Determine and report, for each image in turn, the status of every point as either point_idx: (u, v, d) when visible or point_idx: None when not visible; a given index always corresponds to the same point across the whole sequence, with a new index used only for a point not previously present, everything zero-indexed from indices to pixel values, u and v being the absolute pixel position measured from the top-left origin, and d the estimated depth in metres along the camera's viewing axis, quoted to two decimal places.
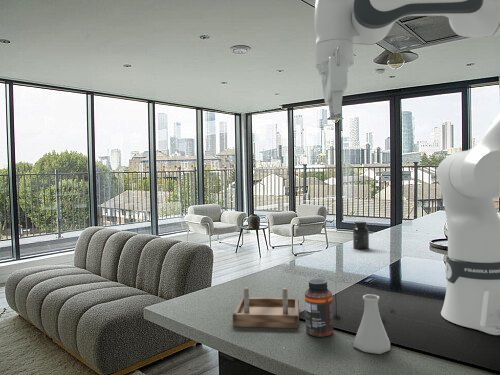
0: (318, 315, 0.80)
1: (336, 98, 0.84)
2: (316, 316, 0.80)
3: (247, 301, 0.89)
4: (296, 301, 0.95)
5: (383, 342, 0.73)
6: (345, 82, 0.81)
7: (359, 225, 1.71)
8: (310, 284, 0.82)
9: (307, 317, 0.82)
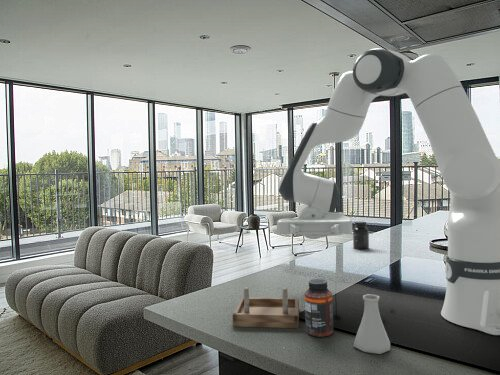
0: (318, 315, 0.80)
1: (290, 229, 1.01)
2: (316, 316, 0.80)
3: (247, 301, 0.89)
4: (296, 301, 0.95)
5: (383, 342, 0.73)
6: (277, 222, 1.04)
7: (359, 225, 1.71)
8: (310, 284, 0.82)
9: (307, 317, 0.82)
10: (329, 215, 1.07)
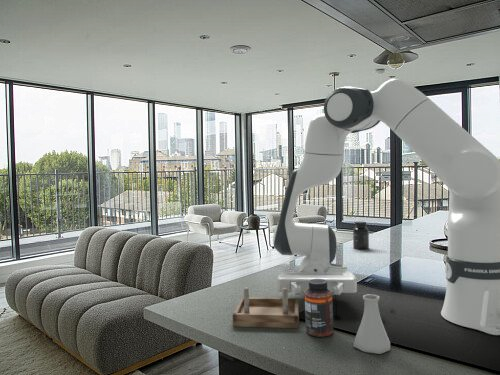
0: (318, 315, 0.80)
1: (291, 288, 0.96)
2: (316, 316, 0.80)
3: (247, 301, 0.89)
4: (296, 301, 0.95)
5: (383, 342, 0.73)
6: (277, 279, 0.99)
7: (359, 225, 1.71)
8: (310, 284, 0.82)
9: (307, 317, 0.82)
10: (332, 270, 1.03)
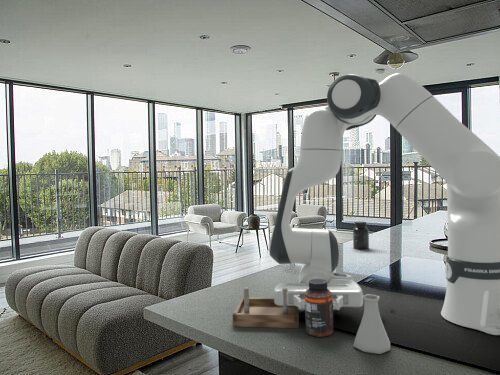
0: (318, 315, 0.80)
1: (294, 302, 0.86)
2: (316, 316, 0.80)
3: (247, 301, 0.89)
4: None
5: (383, 342, 0.73)
6: (274, 291, 0.89)
7: (359, 225, 1.71)
8: (310, 284, 0.82)
9: (307, 317, 0.82)
10: (335, 280, 0.92)
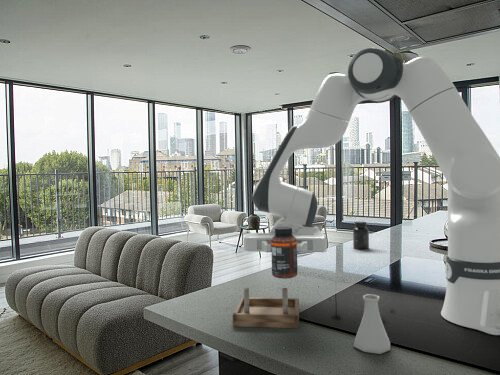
0: (282, 258, 0.85)
1: (262, 247, 0.91)
2: (280, 259, 0.86)
3: (247, 301, 0.89)
4: (296, 301, 0.95)
5: (383, 342, 0.73)
6: (244, 238, 0.94)
7: (359, 225, 1.71)
8: (276, 230, 0.87)
9: (273, 261, 0.87)
10: (302, 230, 0.97)
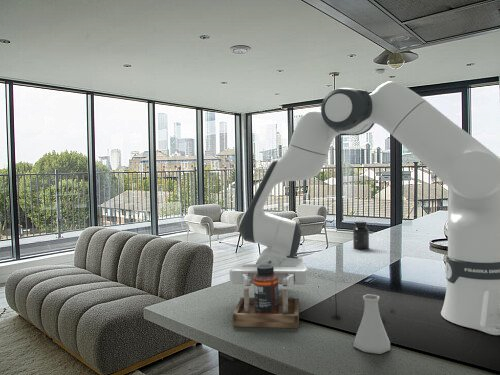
0: (264, 296, 0.90)
1: (243, 280, 0.95)
2: (262, 297, 0.90)
3: (247, 301, 0.89)
4: (296, 301, 0.95)
5: (383, 342, 0.73)
6: (230, 271, 0.98)
7: (359, 225, 1.71)
8: (258, 269, 0.91)
9: (255, 298, 0.91)
10: (286, 262, 1.02)
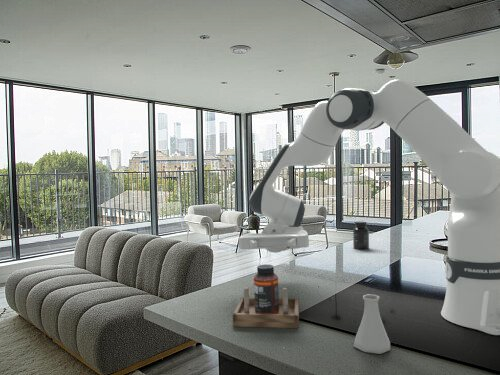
0: (264, 296, 0.90)
1: (250, 245, 1.08)
2: (262, 297, 0.90)
3: (247, 301, 0.89)
4: (296, 301, 0.95)
5: (383, 342, 0.73)
6: None
7: (359, 225, 1.71)
8: (258, 269, 0.91)
9: (255, 298, 0.91)
10: (288, 230, 1.14)
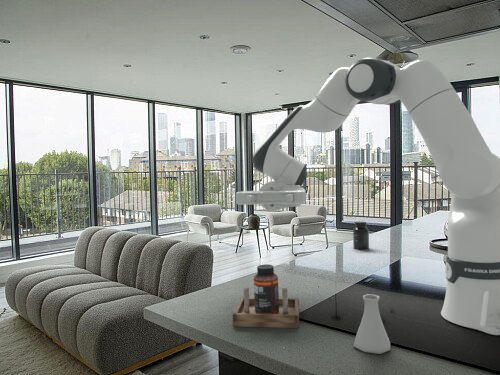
0: (264, 296, 0.90)
1: (247, 199, 1.08)
2: (262, 297, 0.90)
3: (247, 301, 0.89)
4: (296, 301, 0.95)
5: (383, 342, 0.73)
6: (236, 193, 1.11)
7: (359, 225, 1.71)
8: (258, 269, 0.91)
9: (255, 298, 0.91)
10: (286, 188, 1.14)
